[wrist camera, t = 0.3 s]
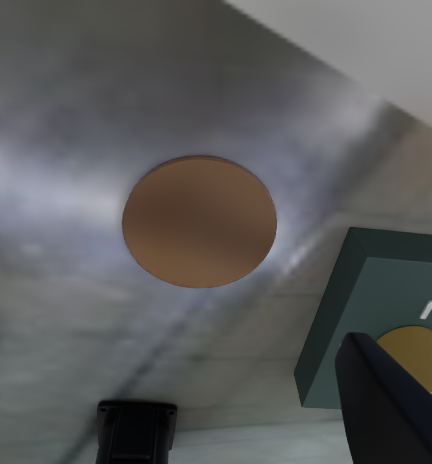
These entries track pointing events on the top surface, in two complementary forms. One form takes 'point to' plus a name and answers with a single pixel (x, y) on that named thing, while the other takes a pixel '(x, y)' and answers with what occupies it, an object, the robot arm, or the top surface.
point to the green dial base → (365, 303)
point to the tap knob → (411, 351)
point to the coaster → (199, 222)
